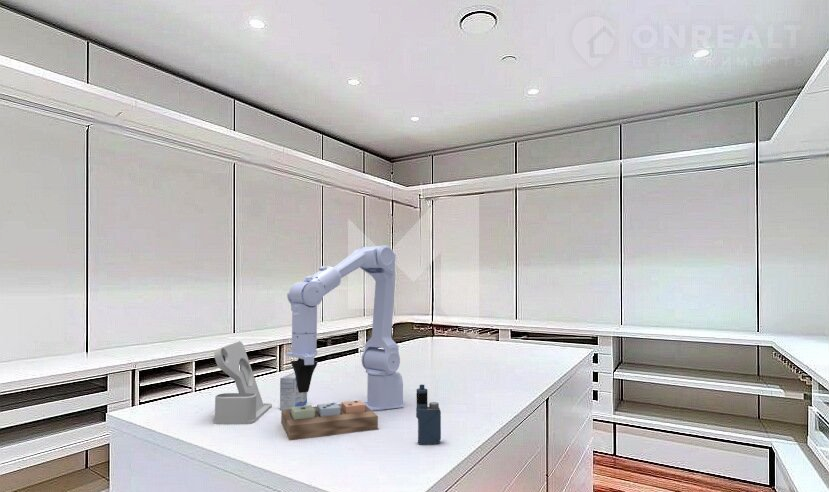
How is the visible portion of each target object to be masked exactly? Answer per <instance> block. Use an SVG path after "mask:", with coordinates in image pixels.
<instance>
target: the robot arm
mask: <svg viewBox="0 0 829 492" xmlns="http://www.w3.org/2000/svg"><path fill="white" fill-rule="evenodd" d="M396 257H397V256H396V253H395V252H394V250H393V249H392V248H391V247H390V245H387V244H383V245H376V246H375V245H373V246H361V247H359V248H357V249H354V250H353V252H352V253H350V254H349V255H348V256H347V257H345V258H344V259H343V260H341V261H340V262H338V263H337V264H336V265H335V266H333V267H332V266H330V265H329V266H326V265H324V266H323V265H322V266H321V267H319V268H318V269H319V271H317V272H315V273H313V274H312V275H307V276H306V277H305V278H304V281H297V282H295V283H293V284H292V285H291V287H290V289H289V291H288V293H287V294H286V297H287V301H288V302H289V304H290V306H291V307H290V310H291V312H292V314H291V315H292V317H291V318H292V319H291V351H288V352H287V351H286V352H285V355H286V356H287V357H293V358H298V359H297V360H292V361H290V364H291V366H292V369H293V373H295V376H296V382H297V388H298V391H299V393H303V392H307V393H309V391H310V386H311V381H312V377H313V375H314V372H315V369H316V368H317V365H318V361H317V360H316V359H315V358H316V356H317V355H318V351H317V347H318V346H317V345H318V344H317V342H318V341H317V339H318V338H317V336H318V335H317V334H318V333H317V332H318V330H317V329H318V305H320V304H321V303H322V301H323V298H324V296H325V295H327V294H329V293H330V292H331V291H333V290H334V289H336V288H338V287H339V286H340V285H341V281H342V280H341V279H342V278H344V277H346V276H347V275H349V274H350V273H352V272H354V271H356V270H358V269H359V268H360V269H361V270H362V271H364V272H365V273H367V275H369V276H371V277H372V278H373V280H374V281H375V288H374V299H373V314H372V327H371V328H372V330H371V331H372V332H371V337H370V338H369V339H368V340H367V341H366V342H365V344H364V349H363V350H364V351H363V353H362V356H361V366H363V368H364V369H365V373H366V374H367V387H366V388H367V391H366V392H367V395H366V396H367V397H366V398H367V400H366V401H364V402H362V403H364V404H365V406H367V407H368V408H369V409H370V410H371V411H373V412H374V411H380V410H381V411H383V410H391V409H400V408H405V405H404V381H403V375H402V374H401V373H400V372H399V371H398V370H399V367H400V364H401V358H400V353H399V345H398V344H397V343H396V341H395V340H394V339H393V338H392V332H393V317H394V301H395V286H396V272H395V270H396V269H395V268H396Z"/></svg>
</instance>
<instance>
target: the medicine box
mask: <svg viewBox="0 0 829 492" xmlns="http://www.w3.org/2000/svg"><path fill="white" fill-rule="evenodd" d="M279 381H280V382H279V409H280V410H285V409H291V407H298V406H306V405H307V403H308V392H303V393H299V391H298V388H297V382H296V376H295V372H292V373H289V374H286V375H284V376H282V377H280V380H279Z"/></svg>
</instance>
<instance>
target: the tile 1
mask: <svg viewBox="0 0 829 492" xmlns="http://www.w3.org/2000/svg"><path fill="white" fill-rule="evenodd" d="M313 407H314V406H313V405H310V404H309V405H303V406H298V407H291V416H292V418H293V420H295V419H305V418H314V417H315V409H314V408H313Z"/></svg>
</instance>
